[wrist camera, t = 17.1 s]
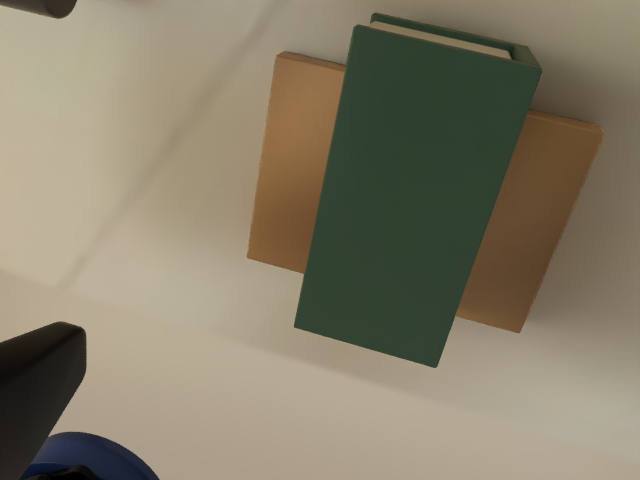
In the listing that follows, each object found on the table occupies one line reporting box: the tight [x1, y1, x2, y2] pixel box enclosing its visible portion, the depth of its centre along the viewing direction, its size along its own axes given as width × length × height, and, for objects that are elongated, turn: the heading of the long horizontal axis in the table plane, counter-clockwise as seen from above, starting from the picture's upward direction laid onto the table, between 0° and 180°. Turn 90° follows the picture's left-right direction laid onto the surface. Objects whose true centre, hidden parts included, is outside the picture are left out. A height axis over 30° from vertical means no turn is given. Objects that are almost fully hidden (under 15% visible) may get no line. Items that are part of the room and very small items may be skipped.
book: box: [294, 13, 542, 368], centre depth 16 cm, size 8×4×3 cm, turn 169°
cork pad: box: [247, 51, 604, 333], centre depth 18 cm, size 9×7×1 cm
